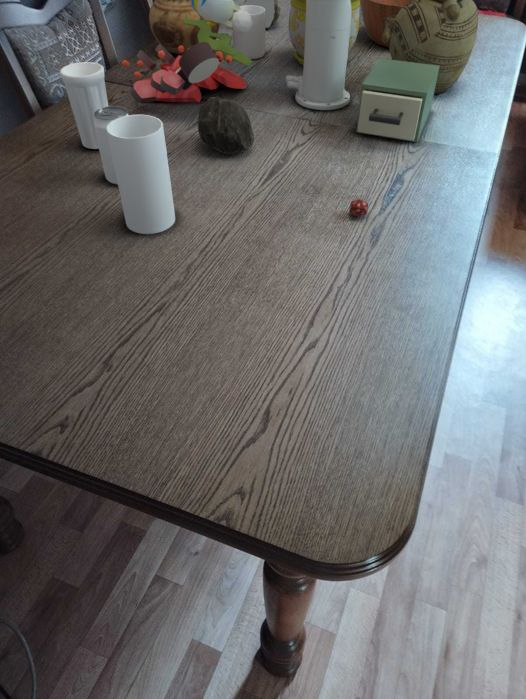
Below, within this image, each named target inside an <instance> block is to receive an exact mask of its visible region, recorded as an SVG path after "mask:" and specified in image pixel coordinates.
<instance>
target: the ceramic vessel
mask: <svg viewBox="0 0 526 699" xmlns="http://www.w3.org/2000/svg"><path fill="white" fill-rule="evenodd" d="M383 26H384V30H383V35H382V41H383V42H384V43H386V42H387V41H388V40H390V48H389V47H388V48H389V54H390V57H391V60H398V61H406V62H413V63H421V64H429V65H437V66H440V67H439V72H438V77H437V81H436V86H435V91H434V95H439V94H440V95H441V94H442V93H443V94H444V93H446V92H447V91H449V90H450V89H451V88H452V87H453V85H455V84H456V82H457V81H458V79H459V78H460V77H461V76H462V73H464V70H465V68H466V66H467V64H468V63H469V60H470V58H471V55H472V53H473V49H474V47H475V43H476V39H477V35H478V28H479V11H478V6H477V5H476V3H475V2H474V0H412V1H411V2H409V3H407V4H406V5H405V6H404V7H402V9H401V10H400V11H399V13H398V15H396V16H393V15H391V16H388V17H386V18H384V19H383Z"/></svg>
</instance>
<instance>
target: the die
mask: <svg viewBox="0 0 526 699" xmlns="http://www.w3.org/2000/svg"><path fill="white" fill-rule="evenodd" d="M368 208H369V203H368V202H367V201H365V200H363V199H360V198H359V199H356V200H351V201H350V205H349V210H348V211H349V212H348V213H349V214H351V215H353V216H355V217H358V218H359V217H361V216H365V215H368Z"/></svg>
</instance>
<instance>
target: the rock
mask: <svg viewBox="0 0 526 699" xmlns="http://www.w3.org/2000/svg"><path fill="white" fill-rule="evenodd" d="M197 131H198V135H199V136H198V137H199V138H200V140H201V142H202V143H204V145H205V146H207V148H210V149H214V150H216V151H218V152H220V153H224V154H227V155H237V154H239V153H242V152H244V151H246V150H249V149H251V148H252V147H253V145H254V138H255V134H254V133H253V128H252V124H251V120H250V117H249V114H248V112H247V111H246V109H245V107H243V106H242V105H241V104H240V103H238V102H237V101H234V100H230V99H224V98H221V97H219V96H216V97H212V96H211V97H209V98H208V99H207V100H206V101H205V102H204V103H202V104H201V105H200V106H199V111H198V115H197Z"/></svg>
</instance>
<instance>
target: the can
mask: <svg viewBox="0 0 526 699" xmlns="http://www.w3.org/2000/svg"><path fill="white" fill-rule="evenodd" d="M129 115H130V114H128V109H127V108H126V107H124V106H120V105H108V106H106V107H102V108H99V109H98V110H96V111H95V112H94V116H95V119H94V128H95V133H96V137H97V142H98V146H99V149H98V150H99V151H98V152H99V155H100V159H101V163H102V168H103V172H104V176H105V179H106V181H107V182H109V183H111V184H113V185H117V186H118V182H117V178H116V173H115V168H114V163H113V158H112V154H111V149H110V144H109V139H108V134H107V126H108V124H109V123H110V122H112V121H113V120H115V119H117V118H120V117H124V116H129Z"/></svg>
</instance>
